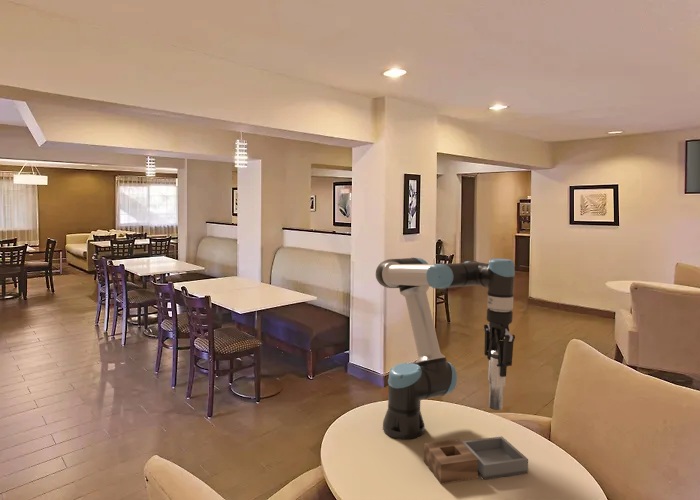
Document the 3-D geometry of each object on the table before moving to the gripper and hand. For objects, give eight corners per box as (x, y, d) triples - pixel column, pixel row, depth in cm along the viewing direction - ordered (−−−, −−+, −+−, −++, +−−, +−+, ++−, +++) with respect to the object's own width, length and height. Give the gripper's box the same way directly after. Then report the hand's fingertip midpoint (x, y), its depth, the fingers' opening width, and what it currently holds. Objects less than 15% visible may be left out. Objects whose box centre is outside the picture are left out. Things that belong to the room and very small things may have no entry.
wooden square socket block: (423, 461, 141) (424, 443, 140) (458, 456, 144) (458, 439, 143) (440, 483, 129) (441, 464, 129) (477, 478, 132) (478, 459, 132)
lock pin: (486, 404, 140) (488, 349, 138) (497, 403, 141) (499, 348, 139) (493, 410, 136) (495, 353, 134) (504, 409, 137) (507, 352, 135)
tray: (460, 454, 145) (461, 441, 145) (501, 449, 149) (502, 436, 148) (483, 479, 132) (484, 465, 131) (527, 473, 135) (528, 459, 135)
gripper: (474, 303, 143) (471, 374, 145) (504, 316, 126) (501, 395, 129) (495, 303, 145) (492, 372, 147) (527, 315, 128) (523, 392, 130)
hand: (496, 382), depth 138 cm, fingers closed on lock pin, 4 cm apart
